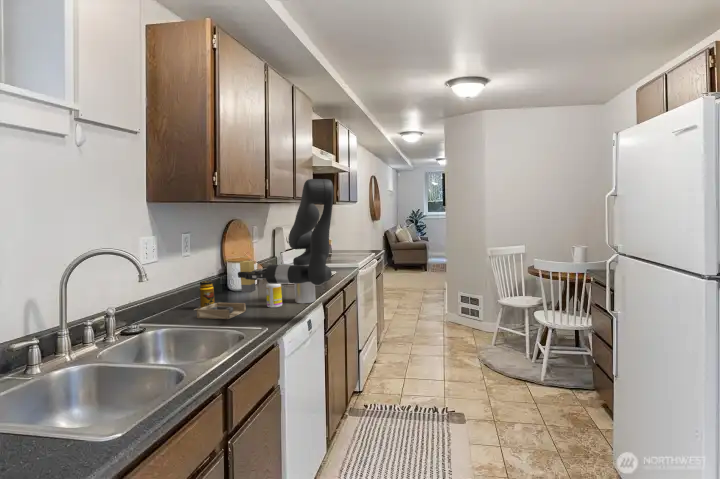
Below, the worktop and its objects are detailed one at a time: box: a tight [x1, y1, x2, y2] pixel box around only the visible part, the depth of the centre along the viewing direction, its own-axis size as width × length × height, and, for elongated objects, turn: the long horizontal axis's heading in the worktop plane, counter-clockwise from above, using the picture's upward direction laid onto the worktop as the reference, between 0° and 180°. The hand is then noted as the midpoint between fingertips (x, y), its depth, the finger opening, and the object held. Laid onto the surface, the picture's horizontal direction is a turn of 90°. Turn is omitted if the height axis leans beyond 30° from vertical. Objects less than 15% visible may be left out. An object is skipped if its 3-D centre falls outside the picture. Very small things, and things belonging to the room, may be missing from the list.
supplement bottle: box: [265, 282, 283, 309], centre depth 212 cm, size 7×7×13 cm
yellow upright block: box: [239, 260, 256, 293], centre depth 192 cm, size 4×4×12 cm
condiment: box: [193, 280, 216, 311], centre depth 213 cm, size 7×8×12 cm
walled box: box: [196, 302, 247, 320], centre depth 199 cm, size 14×14×4 cm
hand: (241, 273), depth 193 cm, fingers closed on yellow upright block, 4 cm apart
